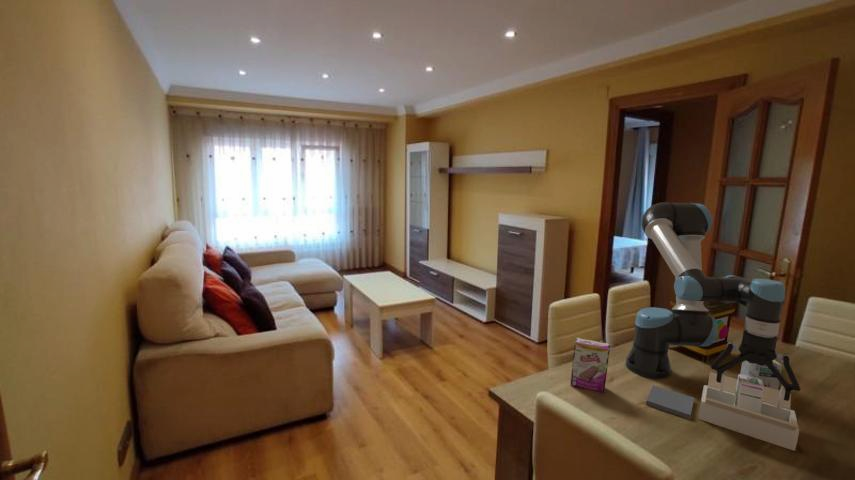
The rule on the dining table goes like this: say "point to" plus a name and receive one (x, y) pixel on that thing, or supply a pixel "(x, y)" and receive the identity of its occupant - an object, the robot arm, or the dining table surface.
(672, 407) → the slate mat
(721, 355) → the robot arm
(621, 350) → the dining table surface
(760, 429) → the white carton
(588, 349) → the candy bar box
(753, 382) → the syrup box
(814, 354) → the dining table surface
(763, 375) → the light bulb box
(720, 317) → the decorative lantern
